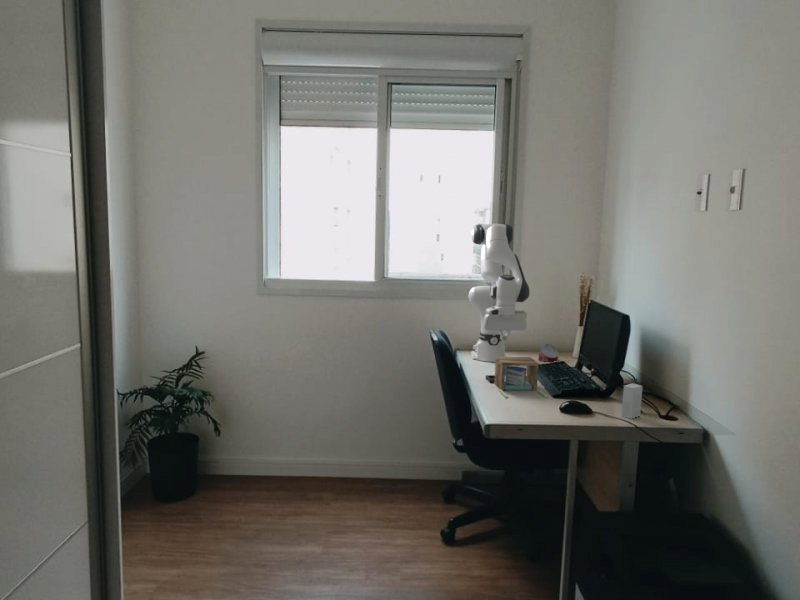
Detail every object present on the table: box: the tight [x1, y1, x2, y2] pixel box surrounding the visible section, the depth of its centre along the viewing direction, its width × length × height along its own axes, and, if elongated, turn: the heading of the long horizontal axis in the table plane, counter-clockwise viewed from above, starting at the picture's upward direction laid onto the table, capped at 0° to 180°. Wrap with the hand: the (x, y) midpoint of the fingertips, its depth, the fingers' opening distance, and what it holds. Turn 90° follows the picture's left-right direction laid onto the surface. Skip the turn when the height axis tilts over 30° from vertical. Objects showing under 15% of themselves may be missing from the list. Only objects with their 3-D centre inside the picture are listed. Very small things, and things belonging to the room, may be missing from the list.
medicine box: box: [505, 366, 527, 386], centre depth 236 cm, size 8×4×9 cm, turn 62°
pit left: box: [485, 374, 495, 384], centre depth 246 cm, size 7×5×2 cm
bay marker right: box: [537, 388, 549, 399], centre depth 228 cm, size 10×1×1 cm, turn 7°
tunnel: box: [493, 356, 539, 392], centre depth 236 cm, size 10×16×12 cm, turn 96°
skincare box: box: [621, 383, 643, 419], centre depth 202 cm, size 6×4×12 cm
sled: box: [504, 366, 533, 391], centre depth 243 cm, size 22×12×6 cm, turn 6°
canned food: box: [538, 343, 560, 363], centre depth 287 cm, size 11×10×10 cm
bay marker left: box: [498, 388, 509, 399], centre depth 226 cm, size 10×1×1 cm, turn 6°
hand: (503, 339), depth 254 cm, fingers closed
